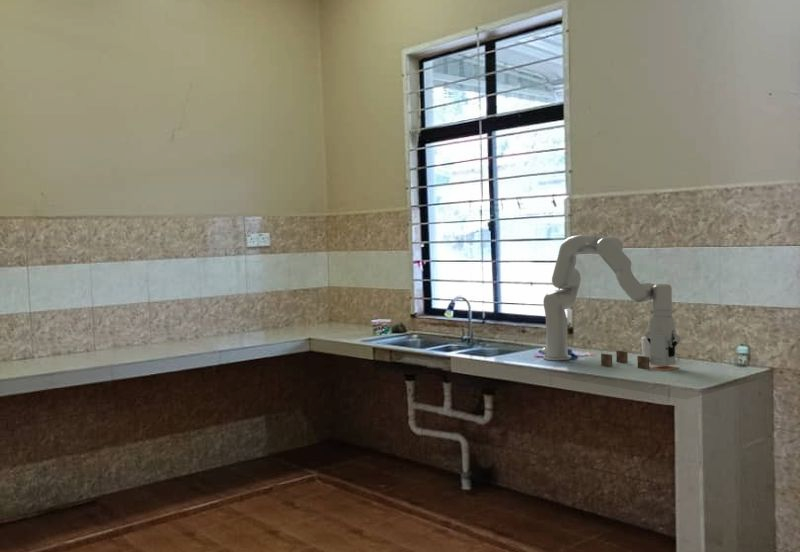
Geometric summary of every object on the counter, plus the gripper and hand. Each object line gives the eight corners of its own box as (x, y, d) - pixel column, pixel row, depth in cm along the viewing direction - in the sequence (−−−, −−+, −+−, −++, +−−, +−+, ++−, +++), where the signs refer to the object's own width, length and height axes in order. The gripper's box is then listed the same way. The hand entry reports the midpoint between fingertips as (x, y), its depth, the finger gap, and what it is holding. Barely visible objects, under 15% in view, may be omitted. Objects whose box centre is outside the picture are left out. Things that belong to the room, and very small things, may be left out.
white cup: (662, 360, 337) (661, 338, 337) (644, 360, 338) (643, 338, 337) (657, 357, 345) (656, 335, 345) (639, 357, 346) (639, 336, 345)
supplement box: (664, 366, 314) (664, 336, 314) (650, 364, 320) (649, 334, 320) (676, 364, 318) (675, 334, 318) (661, 362, 325) (660, 332, 324)
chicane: (601, 365, 331) (601, 353, 331) (625, 359, 342) (625, 348, 341) (640, 370, 316) (640, 358, 315) (664, 365, 326) (664, 353, 325)
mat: (647, 368, 320) (647, 367, 320) (660, 365, 326) (660, 364, 326) (666, 371, 313) (666, 370, 313) (679, 368, 319) (679, 367, 318)
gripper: (639, 313, 323) (639, 354, 324) (675, 316, 309) (676, 359, 310) (649, 311, 327) (650, 352, 328) (686, 314, 313) (686, 356, 315)
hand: (662, 355), depth 319 cm, fingers closed on supplement box, 7 cm apart
